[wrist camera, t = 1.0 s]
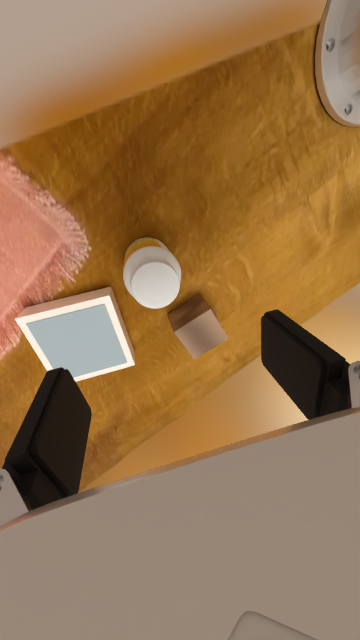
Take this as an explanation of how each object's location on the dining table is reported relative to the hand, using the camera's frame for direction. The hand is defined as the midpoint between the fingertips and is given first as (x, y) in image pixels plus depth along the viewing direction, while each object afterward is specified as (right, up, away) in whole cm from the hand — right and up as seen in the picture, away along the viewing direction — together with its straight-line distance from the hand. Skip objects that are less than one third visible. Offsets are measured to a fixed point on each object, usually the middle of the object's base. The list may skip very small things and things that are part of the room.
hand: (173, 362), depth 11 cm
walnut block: (+2, +2, +21) cm, 21 cm away
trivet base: (-12, +1, +18) cm, 22 cm away
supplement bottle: (-4, +9, +16) cm, 19 cm away
